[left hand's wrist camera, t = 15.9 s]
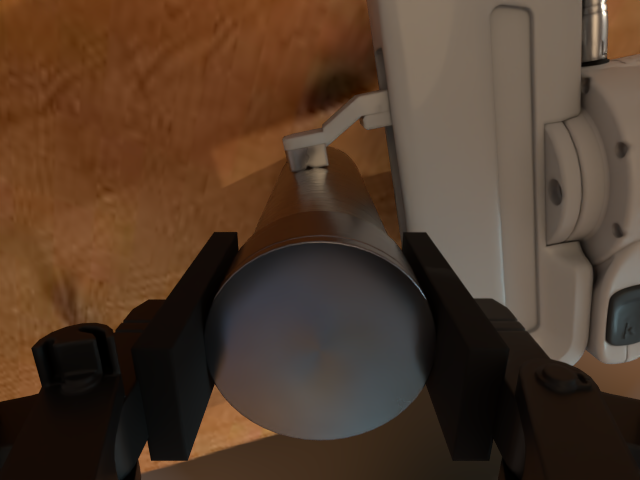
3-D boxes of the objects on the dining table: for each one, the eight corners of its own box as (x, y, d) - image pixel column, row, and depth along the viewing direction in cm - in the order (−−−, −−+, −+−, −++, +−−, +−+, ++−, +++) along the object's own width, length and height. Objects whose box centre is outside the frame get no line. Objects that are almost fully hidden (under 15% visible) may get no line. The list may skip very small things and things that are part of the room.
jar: (375, 204, 26) (453, 372, 11) (303, 240, 27) (282, 443, 12) (338, 129, 24) (367, 202, 9) (263, 170, 25) (177, 299, 10)
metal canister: (380, 179, 11) (396, 204, 9) (438, 347, 13) (464, 403, 10) (190, 251, 12) (159, 291, 9) (271, 401, 13) (261, 464, 11)
